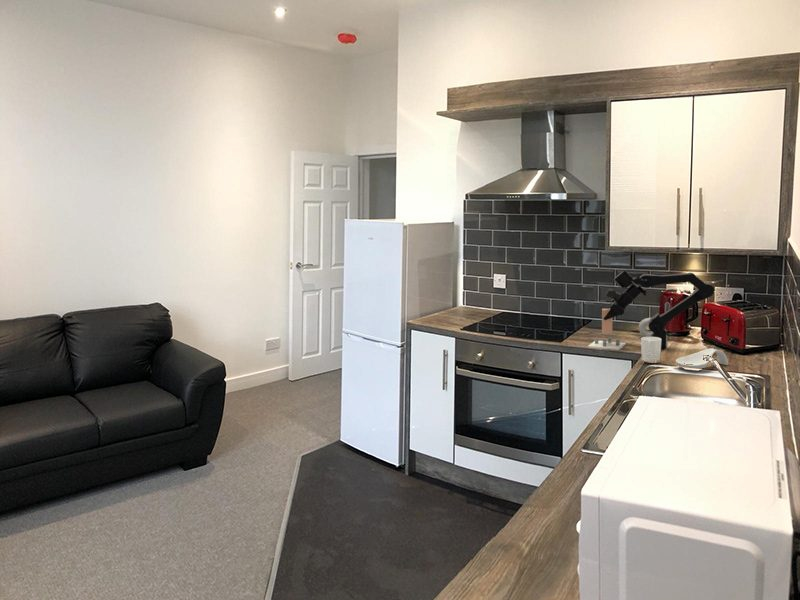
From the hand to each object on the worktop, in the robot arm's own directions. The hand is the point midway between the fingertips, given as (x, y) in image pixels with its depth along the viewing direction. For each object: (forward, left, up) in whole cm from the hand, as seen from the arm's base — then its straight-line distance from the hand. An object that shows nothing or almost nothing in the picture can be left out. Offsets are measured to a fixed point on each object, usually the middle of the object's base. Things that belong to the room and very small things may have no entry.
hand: (604, 318), depth 290 cm
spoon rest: (-44, +25, -13) cm, 53 cm away
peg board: (-1, 0, -13) cm, 13 cm away
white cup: (-25, +24, -13) cm, 37 cm away
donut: (-15, -27, -13) cm, 34 cm away
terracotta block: (-1, 0, -7) cm, 7 cm away
